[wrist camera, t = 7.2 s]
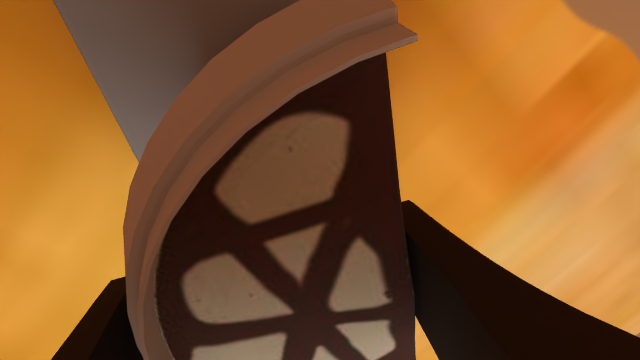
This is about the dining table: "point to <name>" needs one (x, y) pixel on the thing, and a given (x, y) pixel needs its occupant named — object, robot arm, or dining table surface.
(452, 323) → the robot arm
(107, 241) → the dining table surface
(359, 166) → the food container
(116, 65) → the mat
